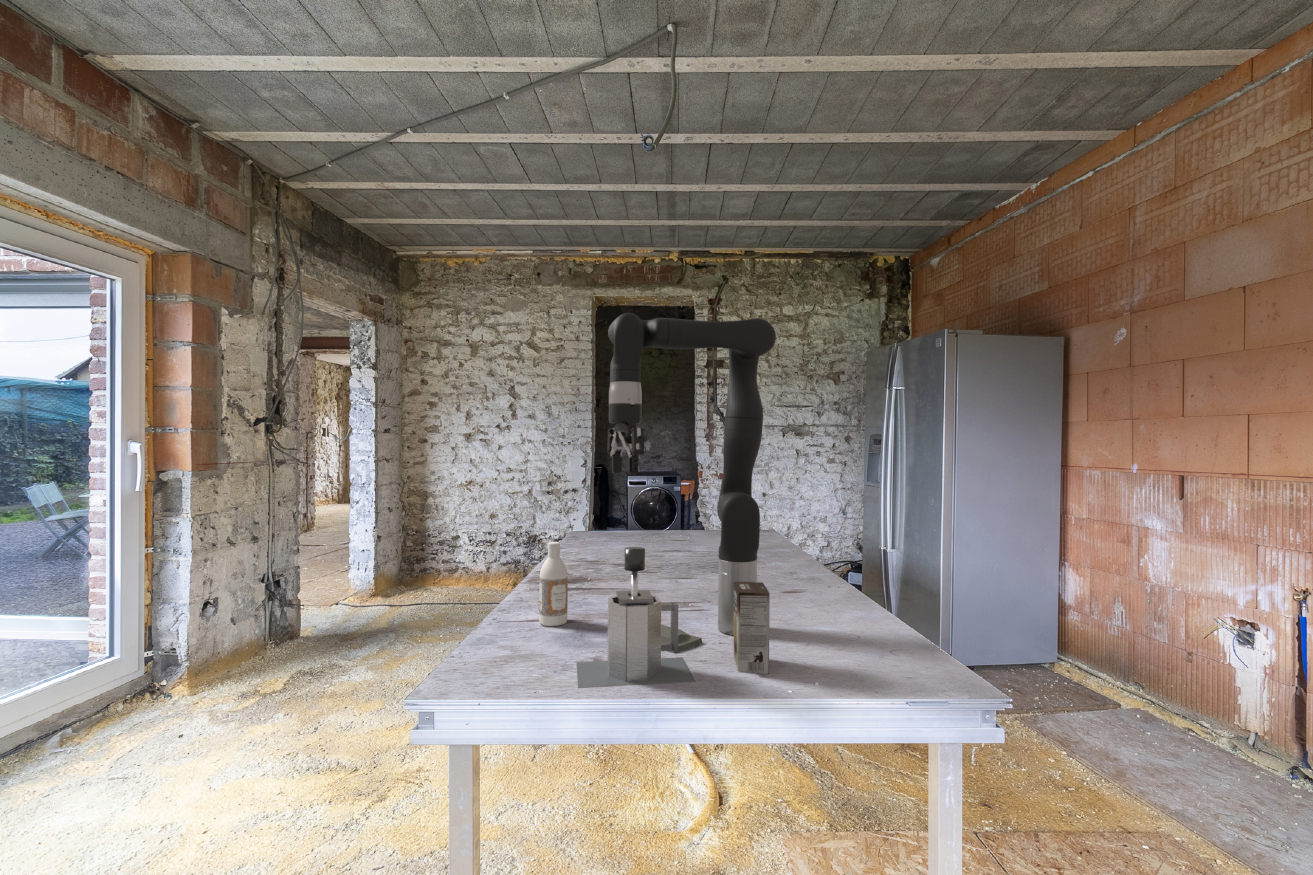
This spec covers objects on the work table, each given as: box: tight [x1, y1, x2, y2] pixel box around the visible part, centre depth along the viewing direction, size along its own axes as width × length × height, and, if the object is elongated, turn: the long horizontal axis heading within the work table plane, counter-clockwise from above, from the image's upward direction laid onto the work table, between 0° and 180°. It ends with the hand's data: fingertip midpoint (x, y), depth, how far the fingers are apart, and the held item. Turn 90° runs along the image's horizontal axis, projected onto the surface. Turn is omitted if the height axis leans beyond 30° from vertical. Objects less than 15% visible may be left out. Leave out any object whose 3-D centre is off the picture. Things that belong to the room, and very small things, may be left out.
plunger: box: [623, 546, 646, 606], centre depth 119 cm, size 7×7×21 cm
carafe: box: [607, 589, 679, 682], centre depth 120 cm, size 14×10×15 cm
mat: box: [576, 656, 697, 689], centre depth 119 cm, size 22×13×1 cm, turn 99°
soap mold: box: [661, 624, 703, 654], centre depth 140 cm, size 10×20×4 cm, turn 47°
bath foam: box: [538, 541, 569, 627], centre depth 152 cm, size 7×7×20 cm
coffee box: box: [733, 581, 771, 675], centre depth 124 cm, size 9×6×16 cm
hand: (624, 473), depth 139 cm, fingers open, 8 cm apart
